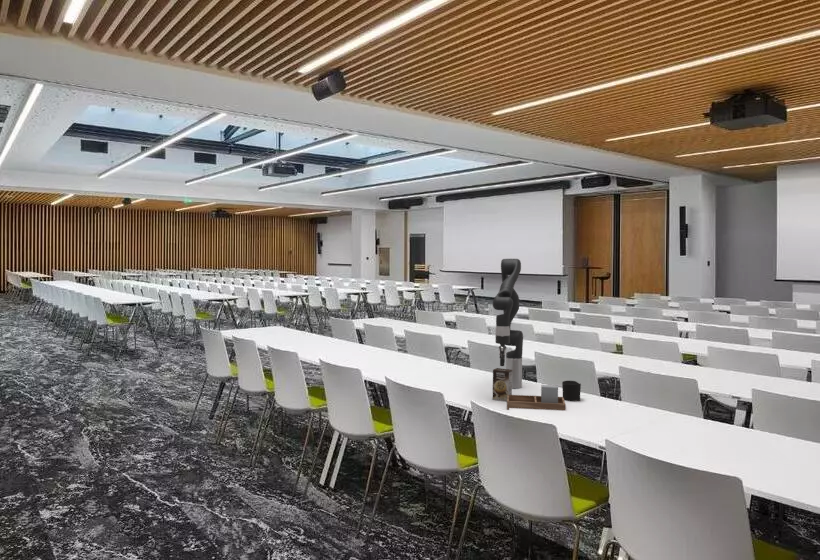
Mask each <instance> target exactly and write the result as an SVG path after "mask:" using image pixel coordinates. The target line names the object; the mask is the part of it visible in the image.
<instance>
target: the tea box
mask: <svg viewBox="0 0 820 560" xmlns="http://www.w3.org/2000/svg"><path fill="white" fill-rule="evenodd" d="M540 388H541V389H540V394H541V395H540V396H541V403H557V404H558V397H559V386H558V385H554V384H553V385H552V384H541V387H540Z"/></svg>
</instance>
